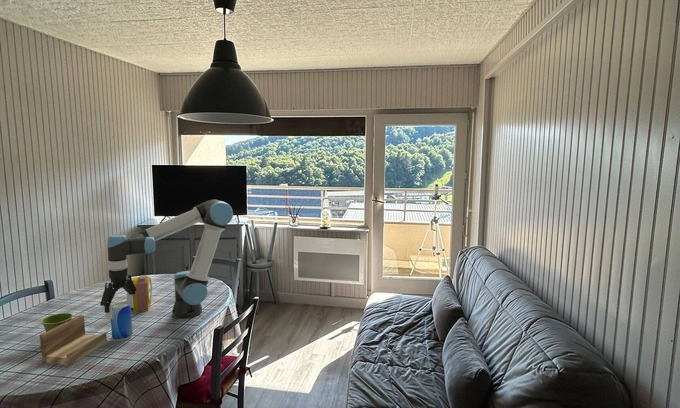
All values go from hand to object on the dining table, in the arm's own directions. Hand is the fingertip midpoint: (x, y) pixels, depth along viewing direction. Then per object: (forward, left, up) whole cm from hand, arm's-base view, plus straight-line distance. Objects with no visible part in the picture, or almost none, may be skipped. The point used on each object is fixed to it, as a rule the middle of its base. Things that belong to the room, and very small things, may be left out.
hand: (120, 313), depth 177 cm
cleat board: (+10, +15, -12) cm, 22 cm away
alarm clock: (+15, -35, -13) cm, 40 cm away
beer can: (0, 0, -13) cm, 13 cm away
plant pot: (+26, +8, -13) cm, 30 cm away
